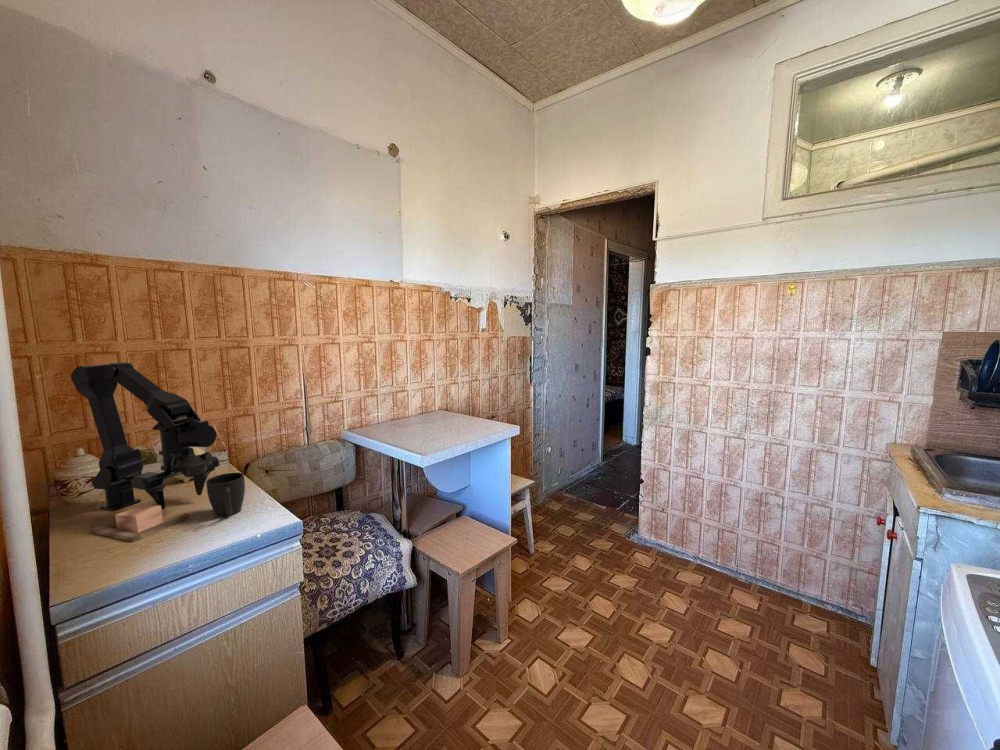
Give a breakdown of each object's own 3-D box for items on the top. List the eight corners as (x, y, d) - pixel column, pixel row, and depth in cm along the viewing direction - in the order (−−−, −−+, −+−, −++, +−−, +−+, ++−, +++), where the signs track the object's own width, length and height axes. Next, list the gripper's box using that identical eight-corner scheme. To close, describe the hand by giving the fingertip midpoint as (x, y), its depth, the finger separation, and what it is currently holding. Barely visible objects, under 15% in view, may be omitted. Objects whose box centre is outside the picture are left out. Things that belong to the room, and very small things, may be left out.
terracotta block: (117, 532, 97) (115, 514, 97) (143, 521, 103) (141, 504, 103) (138, 534, 96) (135, 516, 96) (162, 522, 102) (160, 505, 102)
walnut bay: (92, 532, 97) (91, 528, 97) (150, 510, 109) (150, 506, 109) (133, 541, 93) (132, 537, 92) (189, 517, 104) (189, 514, 104)
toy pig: (161, 481, 131) (157, 449, 130) (206, 471, 139) (203, 441, 138) (165, 489, 124) (161, 455, 123) (212, 478, 132) (209, 447, 131)
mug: (207, 529, 98) (203, 491, 97) (210, 510, 108) (207, 476, 107) (247, 519, 103) (244, 483, 101) (246, 503, 113) (243, 470, 112)
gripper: (155, 459, 96) (163, 521, 98) (230, 438, 114) (235, 492, 116) (126, 455, 100) (133, 515, 102) (203, 436, 117) (208, 487, 119)
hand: (181, 501), depth 109 cm, fingers open, 9 cm apart
